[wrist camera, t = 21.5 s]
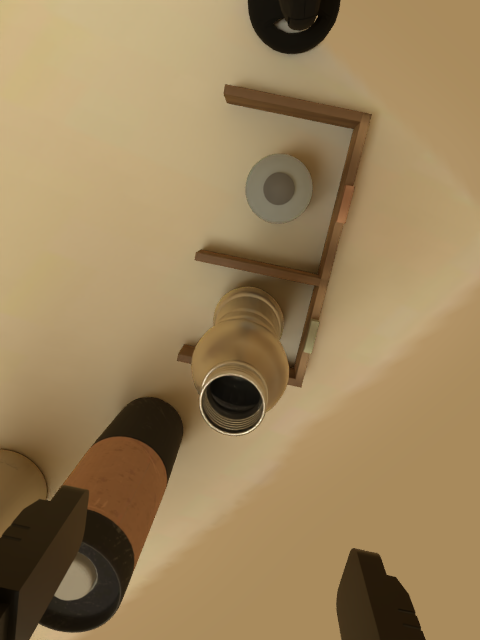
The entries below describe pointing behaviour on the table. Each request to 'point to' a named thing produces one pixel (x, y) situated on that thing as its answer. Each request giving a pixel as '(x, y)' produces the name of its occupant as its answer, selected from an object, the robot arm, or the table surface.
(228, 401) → the plastic bottle
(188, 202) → the table surface
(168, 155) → the table surface
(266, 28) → the webcam
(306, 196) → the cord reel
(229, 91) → the slot rack
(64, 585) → the travel mug
